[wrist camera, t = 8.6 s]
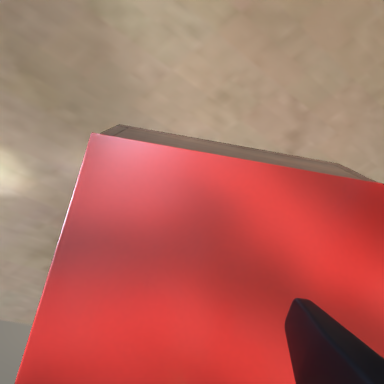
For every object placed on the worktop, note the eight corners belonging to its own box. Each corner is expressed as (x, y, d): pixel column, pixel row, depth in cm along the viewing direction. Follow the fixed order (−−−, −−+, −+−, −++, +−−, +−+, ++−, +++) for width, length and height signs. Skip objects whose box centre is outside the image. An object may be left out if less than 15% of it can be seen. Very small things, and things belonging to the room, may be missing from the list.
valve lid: (421, 488, 11) (659, 663, 6) (2, 447, 10) (-167, 616, 5) (383, 190, 15) (497, 138, 10) (94, 140, 14) (59, 53, 9)
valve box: (290, 295, 24) (314, 343, 19) (105, 268, 22) (84, 312, 18) (339, 163, 20) (383, 185, 15) (118, 124, 19) (95, 134, 14)
